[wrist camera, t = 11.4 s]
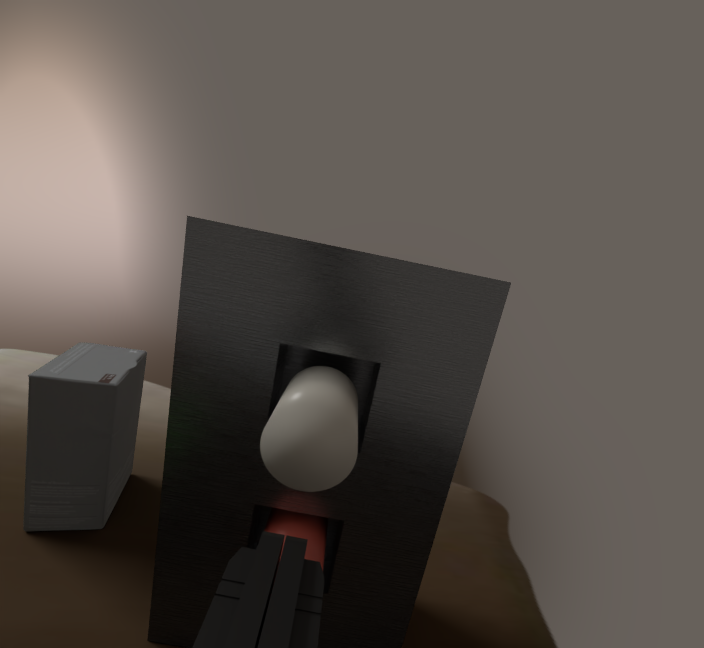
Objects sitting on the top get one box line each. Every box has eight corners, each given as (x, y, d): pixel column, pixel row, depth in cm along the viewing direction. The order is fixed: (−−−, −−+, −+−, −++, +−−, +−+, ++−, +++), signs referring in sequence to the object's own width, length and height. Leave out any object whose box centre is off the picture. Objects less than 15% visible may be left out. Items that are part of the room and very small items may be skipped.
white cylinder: (347, 499, 15) (366, 414, 14) (253, 482, 15) (267, 394, 14) (350, 440, 20) (364, 373, 19) (279, 426, 20) (290, 359, 19)
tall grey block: (390, 684, 24) (511, 282, 18) (147, 640, 24) (187, 215, 18) (383, 589, 31) (469, 275, 25) (194, 554, 31) (235, 227, 25)
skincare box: (68, 473, 37) (72, 339, 34) (141, 473, 39) (150, 346, 36) (16, 538, 29) (14, 370, 26) (110, 533, 31) (119, 378, 28)
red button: (313, 621, 20) (326, 563, 19) (242, 608, 20) (252, 549, 19) (322, 550, 25) (333, 500, 24) (265, 539, 25) (273, 489, 24)
